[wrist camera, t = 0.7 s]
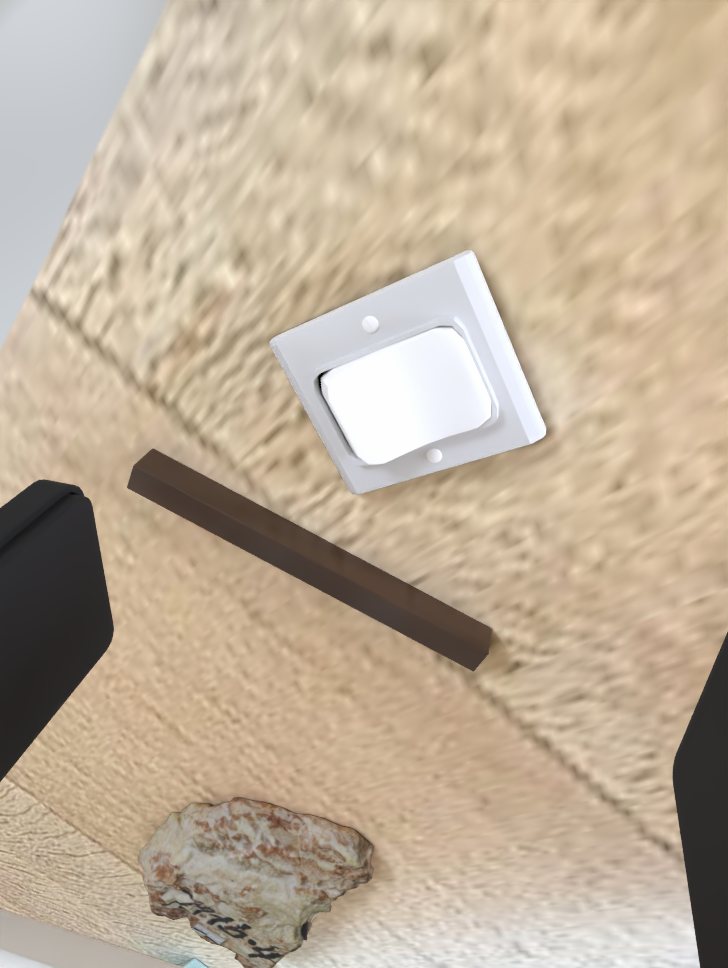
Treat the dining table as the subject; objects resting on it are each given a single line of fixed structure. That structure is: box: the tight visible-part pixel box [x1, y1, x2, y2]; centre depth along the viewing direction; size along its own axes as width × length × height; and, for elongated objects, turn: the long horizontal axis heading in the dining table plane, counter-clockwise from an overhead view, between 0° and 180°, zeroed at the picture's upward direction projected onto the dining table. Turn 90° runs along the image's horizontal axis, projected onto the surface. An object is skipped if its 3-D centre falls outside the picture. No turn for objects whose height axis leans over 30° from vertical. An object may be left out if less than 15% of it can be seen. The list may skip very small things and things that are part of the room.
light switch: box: [270, 250, 546, 495], centre depth 39 cm, size 11×4×13 cm
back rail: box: [127, 449, 492, 671], centre depth 47 cm, size 2×26×2 cm, turn 66°
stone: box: [138, 798, 373, 968], centre depth 66 cm, size 19×6×25 cm
